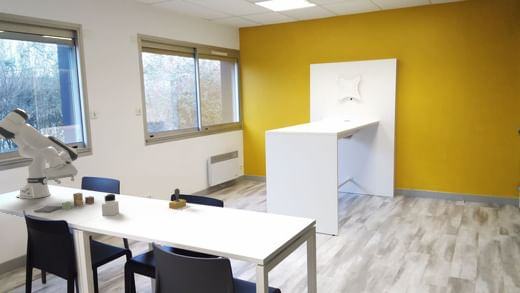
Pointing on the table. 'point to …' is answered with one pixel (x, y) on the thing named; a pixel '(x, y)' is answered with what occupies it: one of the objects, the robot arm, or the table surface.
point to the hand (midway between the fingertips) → (66, 181)
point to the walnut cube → (89, 199)
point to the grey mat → (48, 209)
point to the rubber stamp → (177, 201)
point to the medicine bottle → (110, 205)
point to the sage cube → (66, 205)
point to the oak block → (78, 199)
